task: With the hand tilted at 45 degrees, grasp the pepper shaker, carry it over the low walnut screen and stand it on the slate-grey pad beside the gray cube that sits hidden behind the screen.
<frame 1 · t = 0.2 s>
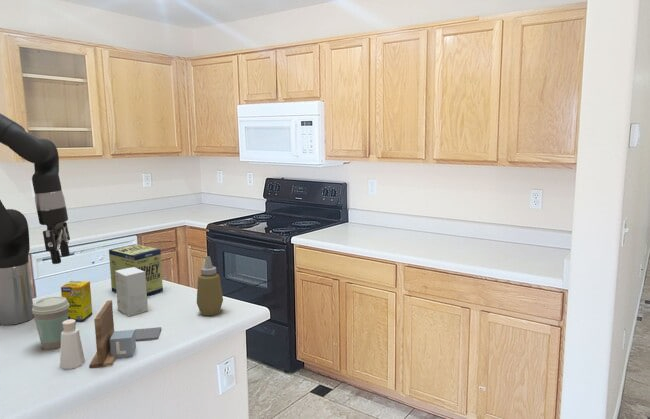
hand: (61, 259, 141), 18 cm above the counter, tool pointing down, fingers open, 8 cm apart
coffee cup: (54, 345, 124), on the counter
supplement box: (78, 318, 142), on the counter
small box: (132, 311, 148), on the counter
protein box: (137, 292, 166), on the counter
pepper shaker: (72, 364, 114), on the counter
screen: (107, 354, 119), on the counter
squeeze bottle: (210, 313, 147), on the counter
gray cube: (124, 352, 119), on the counter
pad: (146, 335, 130), on the counter
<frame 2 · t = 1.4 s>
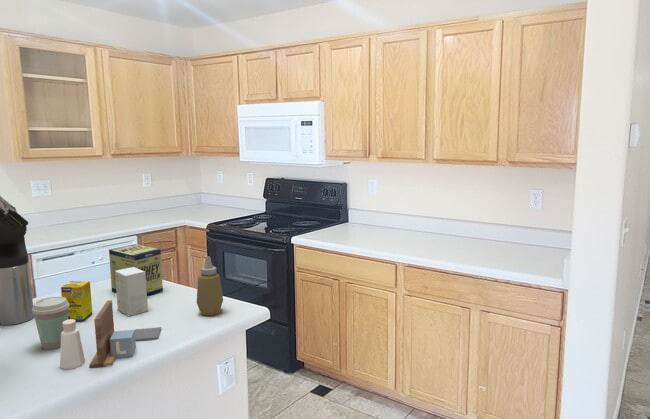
hand: (22, 227, 110), 33 cm above the counter, tool tilted 40°, fingers open, 8 cm apart
nothing on the counter moved.
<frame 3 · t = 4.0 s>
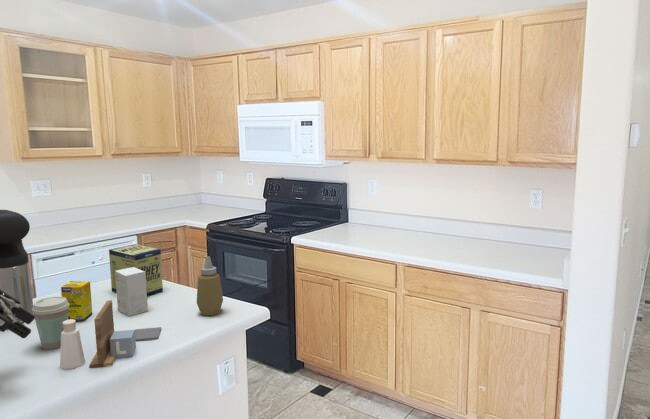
hand: (30, 327, 107), 11 cm above the counter, tool tilted 45°, fingers open, 8 cm apart
nothing on the counter moved.
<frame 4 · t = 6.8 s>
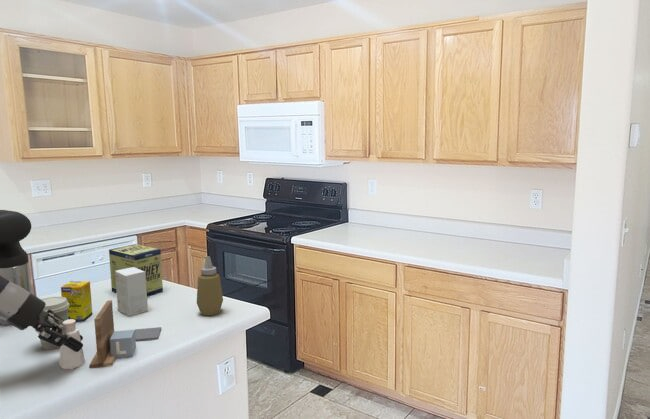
hand: (80, 344, 114), 5 cm above the counter, tool tilted 45°, fingers closed on pepper shaker, 4 cm apart
pepper shaker: (72, 364, 114), on the counter, touching gripper
everything else where it was.
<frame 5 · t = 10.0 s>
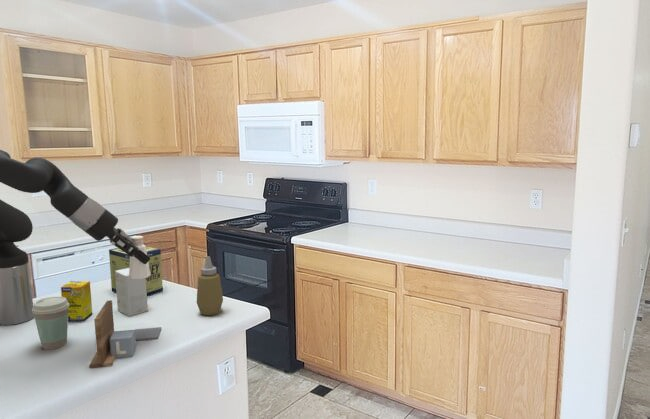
hand: (146, 259, 127), 22 cm above the counter, tool tilted 45°, fingers closed on pepper shaker, 4 cm apart
pepper shaker: (139, 277, 127), point 17 cm above the counter, touching gripper
everything else where it was.
when the fingers open (6 cm above the counter, at t = 13.4 s): pepper shaker drops 1 cm, resting on pad.
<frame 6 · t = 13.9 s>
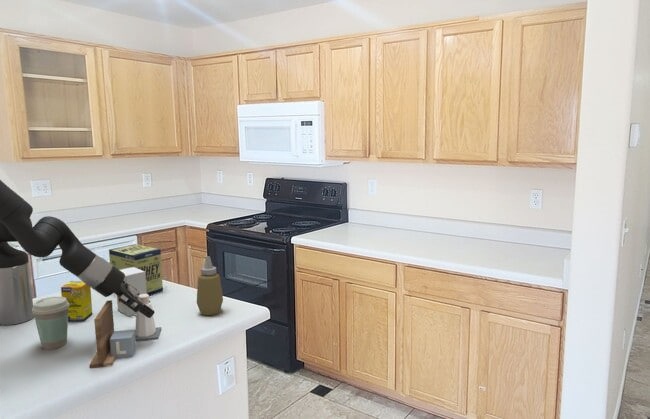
hand: (150, 309, 129), 7 cm above the counter, tool tilted 45°, fingers open, 8 cm apart
pepper shaker: (145, 333, 130), resting on pad
everything else where it was.
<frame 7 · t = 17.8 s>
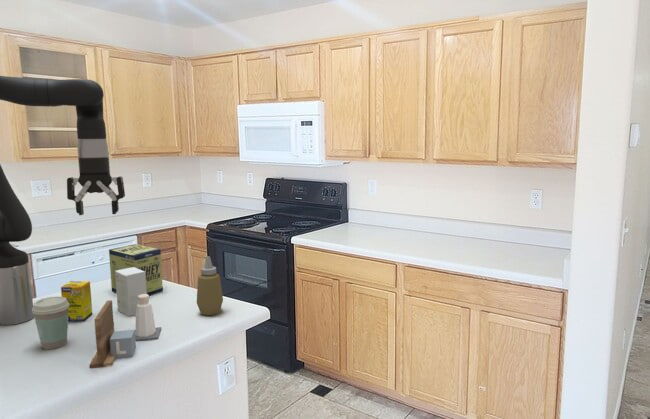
hand: (98, 214, 130), 33 cm above the counter, tool pointing down, fingers open, 8 cm apart
nothing on the counter moved.
at the end: pepper shaker inside the target area on the pad (0.2 cm from its centre), point 0.4 cm above the pad's base; pepper shaker tilted 0°; the gripper is holding nothing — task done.
